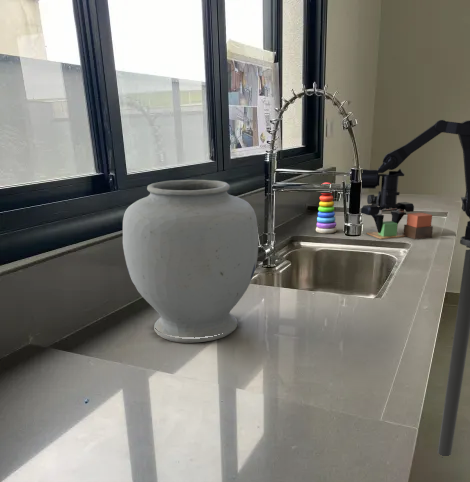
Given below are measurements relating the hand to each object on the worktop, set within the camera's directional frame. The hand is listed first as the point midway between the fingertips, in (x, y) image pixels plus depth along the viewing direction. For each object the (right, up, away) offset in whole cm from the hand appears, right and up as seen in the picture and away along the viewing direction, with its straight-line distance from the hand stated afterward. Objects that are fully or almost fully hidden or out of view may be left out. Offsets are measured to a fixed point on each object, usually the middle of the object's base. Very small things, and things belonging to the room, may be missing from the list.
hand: (385, 232), depth 183 cm
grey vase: (-64, -33, -77) cm, 106 cm away
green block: (0, -1, -1) cm, 2 cm away
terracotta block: (+10, +2, -5) cm, 11 cm away
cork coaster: (0, -1, 0) cm, 1 cm away
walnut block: (+11, -2, -3) cm, 11 cm away
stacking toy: (-20, +1, +9) cm, 22 cm away
